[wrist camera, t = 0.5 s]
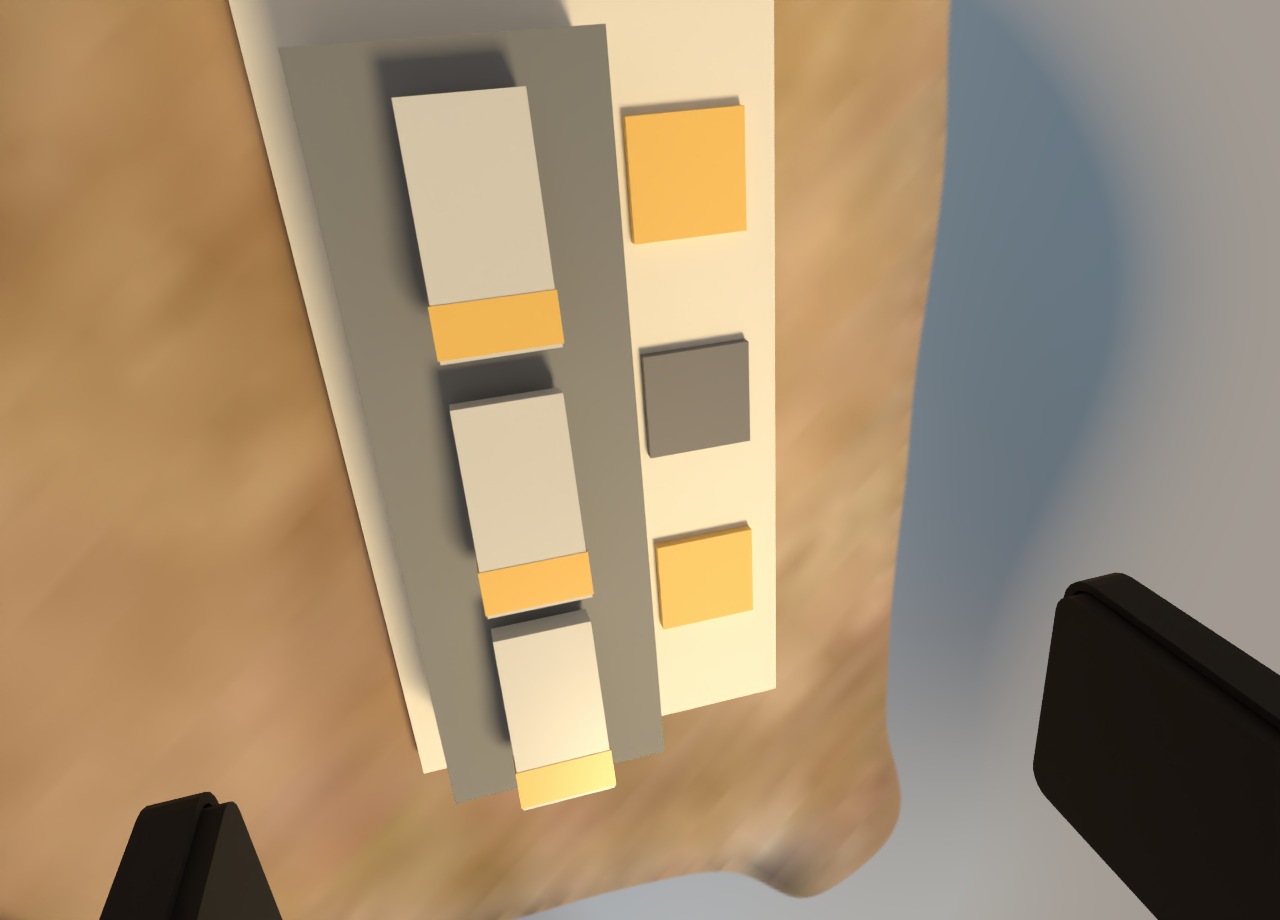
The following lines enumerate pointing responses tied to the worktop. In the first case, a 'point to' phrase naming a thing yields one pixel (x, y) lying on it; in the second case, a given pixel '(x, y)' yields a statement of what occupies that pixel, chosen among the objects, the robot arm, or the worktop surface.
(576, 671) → the plate
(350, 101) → the switch unit
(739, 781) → the worktop surface
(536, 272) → the plate
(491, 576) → the block
